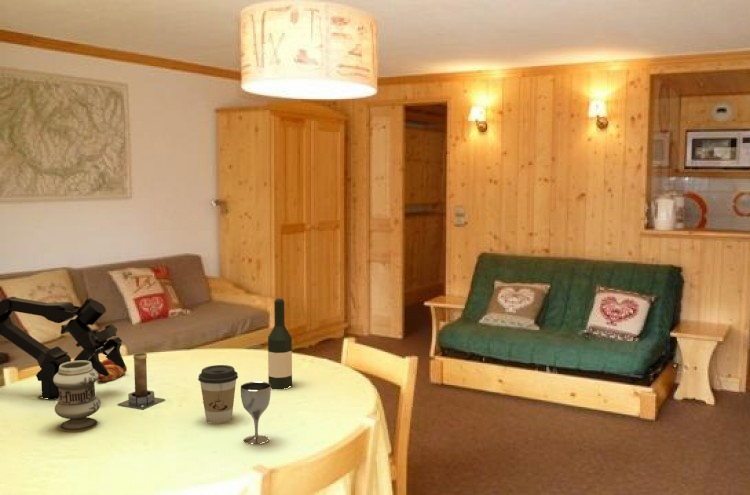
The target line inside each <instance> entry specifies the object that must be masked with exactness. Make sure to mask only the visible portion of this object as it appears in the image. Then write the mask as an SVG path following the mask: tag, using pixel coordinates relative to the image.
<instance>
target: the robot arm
mask: <svg viewBox="0 0 750 495" xmlns="http://www.w3.org/2000/svg"><path fill="white" fill-rule="evenodd" d="M106 311H107V309H106V307H105V305H103V303H100V302H99V301H97V300H94V299H93V298H92V297H89V298H87V299H86V300H85V301H84V302H83V304H82V305H81V306H77V305H74V303H73V302H70V301H59V302H58V301H57V302H44V301H38V300H32V299H27V298H26V299H25V298H20V297H16V296H10V297H6V298H2V300H0V336H1V337H3V338H4V339H6V341H9V342H10V343H12V344H13V345H15V346H16V347H18V348H19V349H20V350H22V351H23V352H24V353H26V354H28V355H29V356H30V357H32V358H33V359H35V360H36V362H37V363H38V366H39V368H40V370H38V372H37V373H36V375H35V376H36V379H37V381H39V382H41V394H39V395H38V398H39V397H43V398H42V399H44V398H48V399H47V400H49V399H54V400H56V399H55V398H57V399H59V389H58V386H56V385H55V384H54V381H53V379H54V376H55V375H56V374H57V373H58V371H59V366H60V365H61V364H63V363H66V362H71V361H72V360H71V359H72V358H71V356H70V355H69V354H68V353H69V352H67V351H64V350H63V349H62V348H61V347H60V346H54V347H51V348H49V347H47V346H45V345H44V344H43V343H41V342H40V341H39V340H37V339H36V338H35V337H33V336H31V335H29V334H28V333H27V332H25V331H24V330H22V329H21V328H20V327H19V326H17V325H15V324H14V323H13V321H12V319H11V315H12V314H13V312H16V313H22V314H28V315H34V316H40V317H43V318H45V319H46V320H47V321H49V322H53V323H56V324H61V323H65V322H67V323H66V324H62V325H61V326H60V327H61V329H60V335H64V334H69V335H70V336H71V337H72V338H73V339H74V341H76V342H77V343H76V344H75V346H76V347H77V348H78V347H81V348H82V350H81V351H80V352H79V353H78V354H77V356H76V357H74V358H73V361H80V360H83V361H90V362H91V363H92V367H93V369H95V370H96V371H97V372H98V373H99V374H102V375H104V376H108V375H109V373H108V371H107V370H106V368H105V367H104V366H103V364H102V363H101V360H100V356H99V355H100V354H102V355H104V356H105V359H109V360H111V361H112V362H114V363H115V364H117V365H118V366H120V367H121V368H124V367H125V365H126V363H125V361H124V358H123V357H122V354H121V346H122V343H123V340H122V339H121V338H120V336H117V332H118V328H117V327H116V326H115V325H113V324H112V323H110V324H108V325H105V326H104V329H103V330H100V331H99V330H98V329H92V328H91V327H90V326H93V325H95V324H96V323H97V321H99V320H100V319H101V318H102V317H103V315H104V314H105V313H106Z"/></svg>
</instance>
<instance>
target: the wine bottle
mask: <svg viewBox="0 0 750 495" xmlns="http://www.w3.org/2000/svg"><path fill="white" fill-rule="evenodd" d="M285 324H286V323H285V300H284V297H276V298H275V299H274V326H273V328H272V330H271V331H270V333H269V334H268V337H267V356H268V357H267V359H268V360H267V361H268V362H267V363H268V364H267V366H268V369H267V370H268V372H267V374H268V377H267V378H268V382H267V383H269V384H270V385H271V388H272V389H271V390H274V389H284V388H288V387H289V386H292V387H293V351H292V350H293V349H292V348H293V344H292V342H293V338H292V336H291V334H290V331H289V330H288V329H287V327H286V326H285ZM288 389H289V388H288Z"/></svg>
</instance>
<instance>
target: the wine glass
mask: <svg viewBox="0 0 750 495" xmlns="http://www.w3.org/2000/svg"><path fill="white" fill-rule="evenodd" d="M271 391H272V389H271V385H270V384H269V382H267V381H249V382H245V383H243V384H241V385H240V398H241V403H242V406H243V408H244V410H246V412H247V413H248V414H249V415H250V416H251V418H252V421H253V424H254V434H253V435H249V436H247V437H245V438H244V439H243V441H244V442H245V443H248V444H260V443H262V442H266V441H267V440H269V439H268V437H269V436H267V435H264V436H263V434H259V421H260V418H261V416H262V415H263V413H264V412H265V411H266V410H267V408H268V407H269V404H270V401H271V393H272V392H271ZM266 436H267V437H266ZM243 441H242V442H243ZM244 442H243V443H244ZM245 443H244V444H245ZM248 444H247V445H248Z"/></svg>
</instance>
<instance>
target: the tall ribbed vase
mask: <svg viewBox="0 0 750 495" xmlns="http://www.w3.org/2000/svg"><path fill="white" fill-rule="evenodd" d="M132 358H133V364H134V366H133V368H134V369H133V370H134V371H133V372H134V392H135V397H144V396H147V390H148V376H147V375H148V374H147V373H148V372H147V369H148V368H147V358H148V354H147V353H146V352H137V353H134V354H133V357H132Z"/></svg>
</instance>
